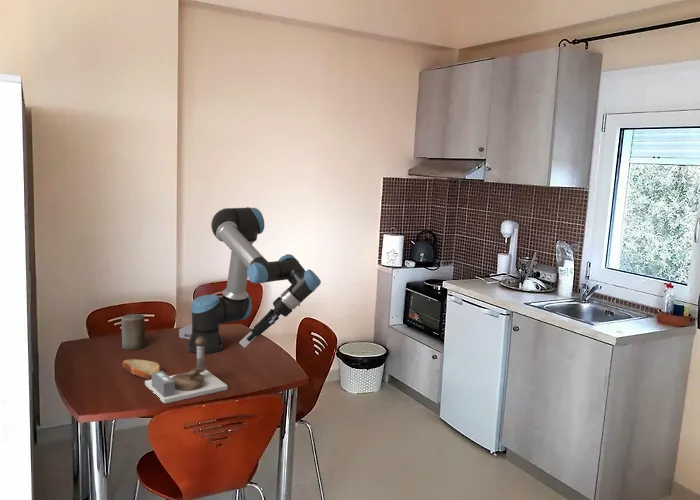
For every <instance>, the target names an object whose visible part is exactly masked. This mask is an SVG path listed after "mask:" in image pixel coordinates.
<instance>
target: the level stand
mask: <svg viewBox="0 0 700 500" xmlns="http://www.w3.org/2000/svg"><path fill="white" fill-rule="evenodd" d="M178 374H179V373H177V374H172V375H168V374H166V372H164V371H160V372H154V373H152V379H146V380H144V385H145V386H146V388H148V389H149V390H150V391H151V390H152V391H153V392H152V391H151V392H152V393H153V394H154V395H155V394H156V395H157V396H158V397H159V398H160V399H159V398H158V397H157V396H156V395H155V396H156V397H157V398H158V399H159V400H160V402H162V403H163V404H164V403H165V404H170V403H173V402H178V401H183V400H186V399H191V398H196V397H199V396H205V395H208V394H209V395H210V394H214V393H219V392H222V391H223V392H224V391H227V390H229V388H228V387H229V386H228V385H227V383H225V382H223V381H222V380H220V379H219V378H218V377H216V376H215V375H214V374H213V373H211V372H210V371H209V370H207V369H206V370H205V371H204V372H201V373H200V374H201V375H203V376H204V385H203V386H202V387H200V388H197V389H193V390H178V389H175V381H173V380H172V379H171V378H172V377H173V376H175V375H178Z"/></svg>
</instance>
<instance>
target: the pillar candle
mask: <svg viewBox="0 0 700 500" xmlns="http://www.w3.org/2000/svg"><path fill="white" fill-rule="evenodd" d="M120 319H121V320H120V321H121V345H122V349H124V350H130V351H133V350H140V349H144V348H145V347H146V336H145V333H146V330H145V326H146V325H145V323H146V322H145V315H143V314H140V313H132V314H130V313H129V314H126V315H123V316H121V318H120Z"/></svg>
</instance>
